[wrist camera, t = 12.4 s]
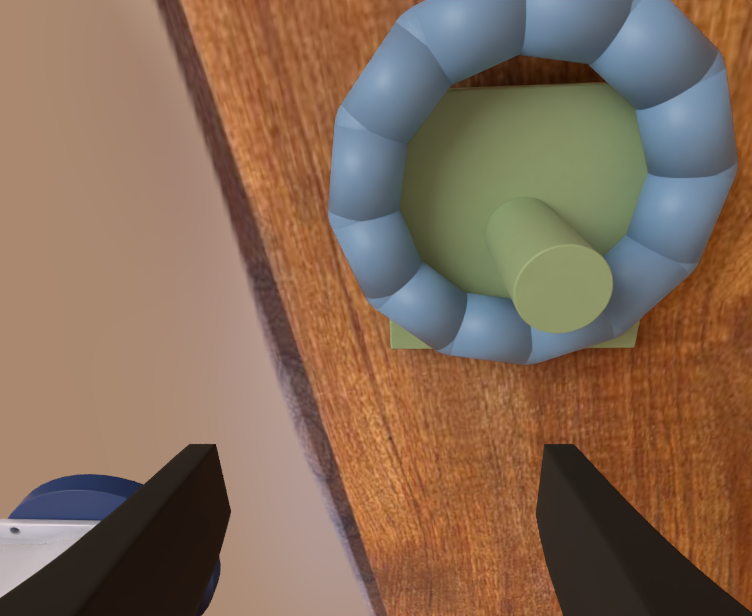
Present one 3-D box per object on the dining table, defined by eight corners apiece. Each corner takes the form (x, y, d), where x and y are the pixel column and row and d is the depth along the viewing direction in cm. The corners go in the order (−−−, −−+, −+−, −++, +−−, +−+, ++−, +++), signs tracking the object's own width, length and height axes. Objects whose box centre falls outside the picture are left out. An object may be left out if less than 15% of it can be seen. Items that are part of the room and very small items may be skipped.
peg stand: (391, 334, 20) (385, 436, 15) (384, 90, 16) (372, 99, 11) (622, 333, 20) (709, 438, 14) (671, 79, 16) (818, 82, 10)
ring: (412, 380, 20) (413, 415, 18) (272, 80, 15) (252, 81, 13) (730, 276, 17) (773, 303, 15) (670, -117, 13) (718, -152, 11)
